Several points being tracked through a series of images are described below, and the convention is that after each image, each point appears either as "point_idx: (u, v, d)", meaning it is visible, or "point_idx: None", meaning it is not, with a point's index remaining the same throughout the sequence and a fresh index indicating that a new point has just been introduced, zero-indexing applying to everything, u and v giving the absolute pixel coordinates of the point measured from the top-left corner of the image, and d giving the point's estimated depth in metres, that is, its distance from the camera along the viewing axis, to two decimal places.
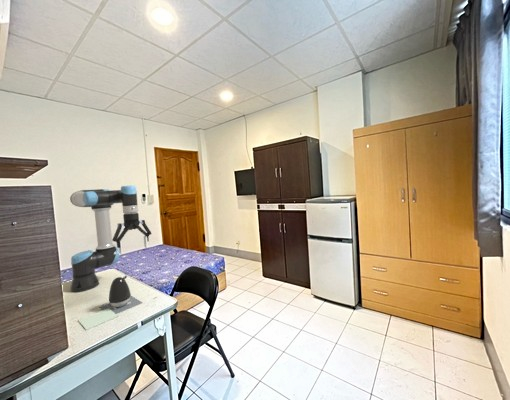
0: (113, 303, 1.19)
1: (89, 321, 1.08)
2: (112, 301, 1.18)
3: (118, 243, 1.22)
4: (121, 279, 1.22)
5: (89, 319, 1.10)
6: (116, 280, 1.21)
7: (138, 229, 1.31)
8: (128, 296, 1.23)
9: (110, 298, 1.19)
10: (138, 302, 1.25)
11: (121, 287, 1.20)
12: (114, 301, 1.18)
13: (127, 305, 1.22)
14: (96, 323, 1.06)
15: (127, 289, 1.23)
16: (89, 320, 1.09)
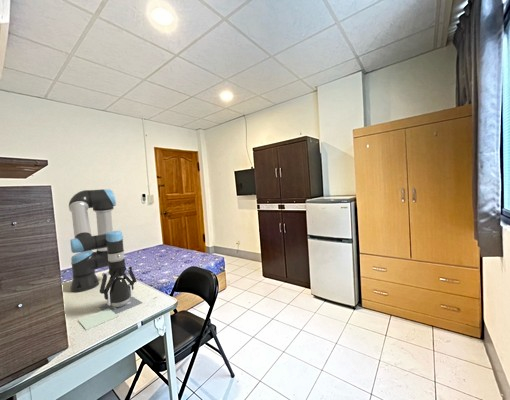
0: (113, 303, 1.19)
1: (89, 321, 1.08)
2: (112, 301, 1.18)
3: (106, 294, 1.18)
4: (121, 279, 1.22)
5: (89, 319, 1.10)
6: (116, 280, 1.21)
7: (123, 276, 1.25)
8: (128, 296, 1.23)
9: (110, 298, 1.19)
10: (138, 302, 1.25)
11: (121, 287, 1.20)
12: (114, 301, 1.18)
13: (127, 305, 1.22)
14: (96, 323, 1.06)
15: (127, 289, 1.23)
16: (89, 320, 1.09)
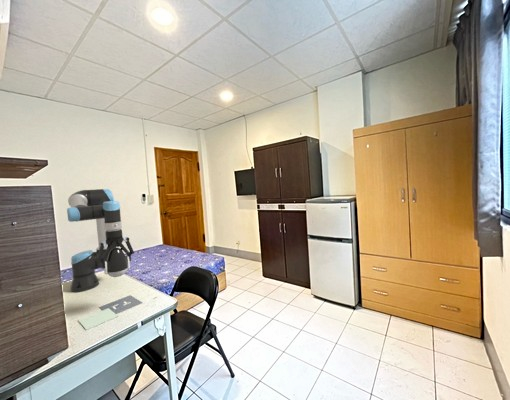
0: (110, 272, 1.18)
1: (89, 321, 1.08)
2: (109, 270, 1.18)
3: (103, 263, 1.17)
4: (118, 249, 1.21)
5: (89, 319, 1.10)
6: (113, 250, 1.20)
7: (121, 247, 1.24)
8: (125, 266, 1.22)
9: (107, 267, 1.18)
10: (138, 302, 1.25)
11: (118, 257, 1.20)
12: (111, 270, 1.17)
13: (127, 305, 1.22)
14: (96, 323, 1.06)
15: (124, 259, 1.22)
16: (89, 320, 1.09)
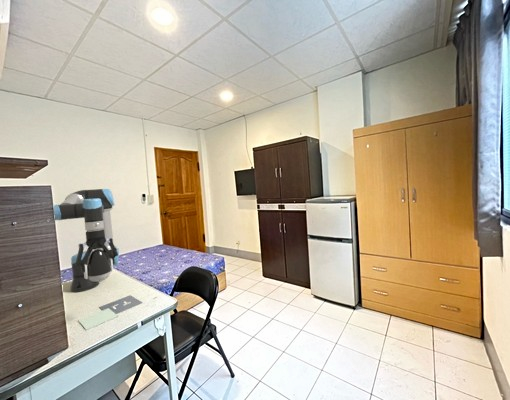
0: (91, 276, 1.08)
1: (89, 321, 1.08)
2: (90, 274, 1.07)
3: (82, 267, 1.07)
4: (100, 251, 1.11)
5: (89, 319, 1.10)
6: (94, 252, 1.10)
7: (103, 249, 1.14)
8: (108, 270, 1.12)
9: (88, 271, 1.08)
10: (138, 302, 1.25)
11: (100, 259, 1.09)
12: (92, 274, 1.07)
13: (127, 305, 1.22)
14: (96, 323, 1.06)
15: (107, 262, 1.12)
16: (89, 320, 1.09)
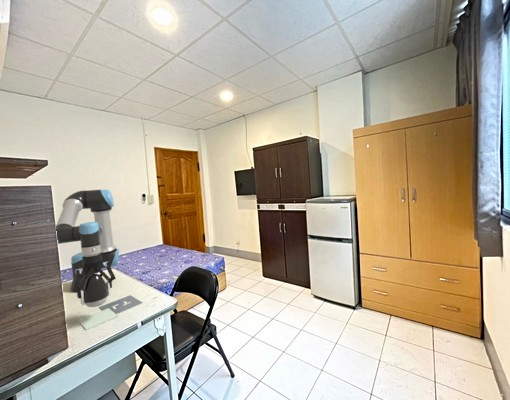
0: (87, 303, 1.06)
1: (89, 321, 1.08)
2: (86, 300, 1.05)
3: (79, 293, 1.05)
4: (97, 276, 1.09)
5: (89, 319, 1.10)
6: (91, 277, 1.08)
7: (100, 273, 1.12)
8: (105, 295, 1.10)
9: (84, 297, 1.06)
10: (138, 302, 1.25)
11: (97, 285, 1.07)
12: (88, 300, 1.05)
13: (127, 305, 1.22)
14: (96, 323, 1.06)
15: (104, 287, 1.10)
16: (89, 320, 1.09)
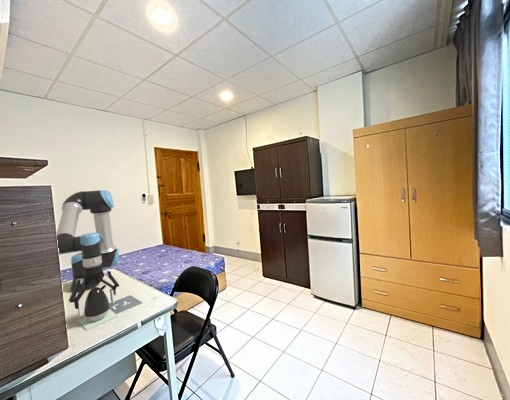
0: (88, 317, 1.06)
1: (89, 321, 1.08)
2: (87, 315, 1.06)
3: (76, 303, 1.04)
4: (98, 290, 1.10)
5: None
6: (92, 291, 1.08)
7: None
8: (106, 308, 1.10)
9: (85, 311, 1.06)
10: (138, 302, 1.25)
11: (98, 299, 1.08)
12: (90, 315, 1.06)
13: (127, 305, 1.22)
14: (96, 323, 1.06)
15: (105, 301, 1.11)
16: (89, 320, 1.09)
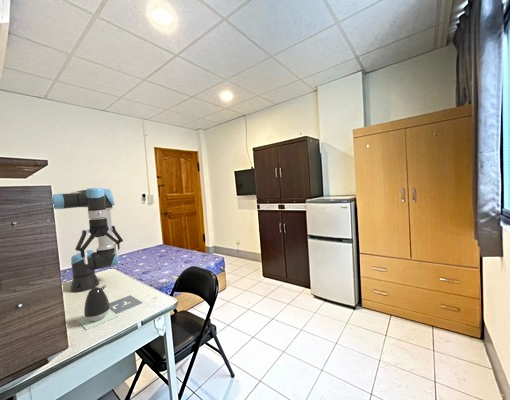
0: (88, 317, 1.06)
1: (89, 321, 1.08)
2: (87, 315, 1.06)
3: (82, 252, 1.09)
4: (98, 290, 1.10)
5: None
6: (92, 291, 1.08)
7: (107, 236, 1.18)
8: (106, 308, 1.10)
9: (85, 311, 1.06)
10: (138, 302, 1.25)
11: (98, 299, 1.08)
12: (90, 315, 1.06)
13: (127, 305, 1.22)
14: (96, 323, 1.06)
15: (105, 301, 1.11)
16: (89, 320, 1.09)
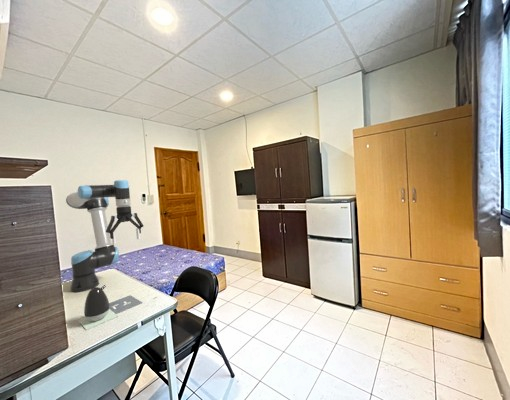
0: (88, 317, 1.06)
1: (89, 321, 1.08)
2: (87, 315, 1.06)
3: (111, 234, 1.30)
4: (98, 290, 1.10)
5: None
6: (92, 291, 1.08)
7: (131, 222, 1.39)
8: (106, 308, 1.10)
9: (85, 311, 1.06)
10: (138, 302, 1.25)
11: (98, 299, 1.08)
12: (90, 314, 1.06)
13: (127, 305, 1.22)
14: (96, 323, 1.06)
15: (105, 301, 1.11)
16: (89, 320, 1.09)
